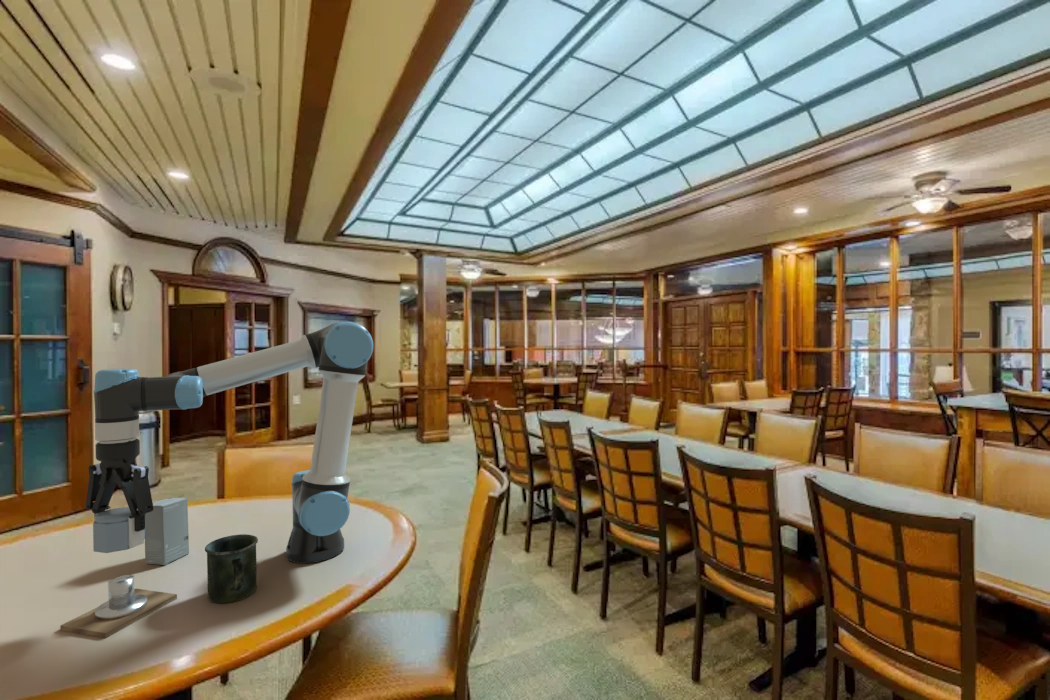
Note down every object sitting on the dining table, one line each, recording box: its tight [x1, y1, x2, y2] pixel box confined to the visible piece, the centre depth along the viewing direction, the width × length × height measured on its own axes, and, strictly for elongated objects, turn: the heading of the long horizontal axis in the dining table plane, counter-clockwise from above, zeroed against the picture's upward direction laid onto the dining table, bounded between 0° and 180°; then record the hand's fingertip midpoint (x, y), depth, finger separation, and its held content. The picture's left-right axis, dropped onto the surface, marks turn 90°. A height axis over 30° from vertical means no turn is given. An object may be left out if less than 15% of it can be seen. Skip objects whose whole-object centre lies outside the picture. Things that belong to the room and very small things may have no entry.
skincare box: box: [144, 497, 190, 566], centre depth 140 cm, size 8×7×16 cm
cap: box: [92, 506, 145, 554], centre depth 112 cm, size 8×8×7 cm
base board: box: [59, 588, 178, 639], centre depth 112 cm, size 12×16×1 cm
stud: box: [95, 574, 147, 620], centre depth 112 cm, size 9×9×6 cm
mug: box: [204, 533, 259, 604], centre depth 119 cm, size 11×15×12 cm
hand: (120, 543), depth 112 cm, fingers closed on cap, 8 cm apart
